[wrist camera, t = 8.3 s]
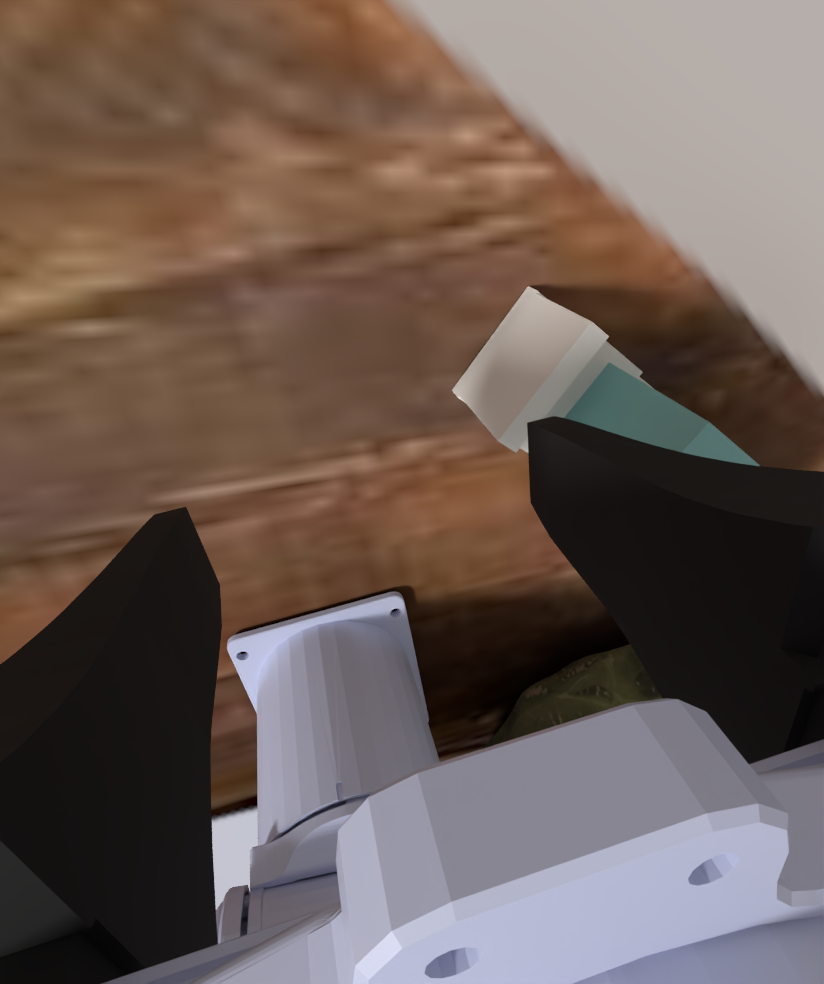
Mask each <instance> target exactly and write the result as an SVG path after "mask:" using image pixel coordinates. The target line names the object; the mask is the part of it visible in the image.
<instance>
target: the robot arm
mask: <svg viewBox="0 0 824 984" xmlns="http://www.w3.org/2000/svg"><path fill="white" fill-rule="evenodd" d="M527 431H528V453H529V475H530V497H531V504H532V506H533V507H534V509H535V511H536V513H537V515H538V517H539V518H540V520H541V522H542V524H543V525H544V527H545V529H546V531H547V532H548V534H549V536H550V537H551V539H552V540H553V541H554V543H555V544H556V545H557V546H558V548H559V549H560V550H561V552H562V553H563V554H564V555H565V557H566V558H567V559H568V561H569V562H570V563H571V564H572V566H573V567H574V568H575V570H576V571H577V572H578V573H579V575H580V576H581V577H582V578H583V580H584V581H585V582H586V583H587V585H588V586H589V587H590V588H591V590H592V591H593V592H594V593H595V595H596V596H597V597H598V599H599V600H600V601H601V602H602V604H603V605H604V606H605V607H606V609H607V610H608V611H609V613H610V614H611V616H612V617H613V618H614V620H615V621H616V623H617V624H618V625H619V627H620V629H621V630H622V632H623V633H624V635H625V637H626V638H627V640H628V642H629V643H630V645H631V646H632V648H633V650H634V651H635V653H636V654H637V656H638V658H639V659H640V661H641V663H642V664H643V666H644V668H645V669H646V671H647V673H648V675H649V676H650V678H651V680H652V681H653V683H654V685H655V687H656V688H657V690H658V692H659V693H660V695H661V697H662V699H657V700H649V701H642V702H634V703H627V704H623V705H620V706H617V707H614V708H611V709H608V710H604V711H601V712H598V713H595V714H592V715H589V716H585V717H582V718H579V719H576V720H573V721H569V722H566V723H563V724H560V725H557V726H554V727H550V728H547V729H544V730H541V731H538V732H535V733H531V734H528V735H525V736H522V737H519V738H516V739H512V740H509V741H506V742H503V743H500V744H497V745H493V746H490V747H487V748H484V749H481V750H478V751H474V752H471V753H468V754H465V755H462V756H459V757H455V758H452V759H449V760H446V761H443V762H440V761H439V758H438V755H437V751H436V748H435V745H434V741H433V738H432V735H431V732H430V728H429V725H428V721H429V716H428V712H427V707H426V702H425V697H424V693H423V688H422V683H421V678H420V673H419V669H418V664H417V659H416V654H415V650H414V645H413V640H412V635H411V631H410V626H409V621H408V616H407V612H406V607H405V602H404V599H403V596H402V594H400V593H399V592H395V591H394V592H388V593H385V594H381V595H377V596H374V597H370V598H367V599H363V600H359V601H356V602H352V603H348V604H345V605H341V606H338V607H334V608H330V609H327V610H323V611H319V612H316V613H312V614H309V615H305V616H301V617H298V618H294V619H290V620H287V621H283V622H280V623H276V624H272V625H269V626H265V627H261V628H258V629H254V630H251V631H247V632H243V633H240V634H236V635H234V636H232V637H230V638H229V640H228V642H227V649H228V652H229V654H230V657H231V659H232V661H233V663H234V665H235V667H236V670H237V672H238V674H239V676H240V678H241V680H242V683H243V685H244V687H245V689H246V691H247V693H248V696H249V698H250V700H251V702H252V704H253V707H254V709H255V711H256V713H257V781H258V846H256V847H253V848H252V849H251V850H250V891H249V888H248V885H245V886H238V887H232V888H230V889H229V891H228V892H227V893H226V895H225V898H224V901H223V902H222V903H221V904H220V906H219V907H218V909H217V910H216V909H215V890H214V872H213V871H214V870H213V853H212V852H213V851H212V821H211V771H210V743H211V725H212V715H213V706H214V697H215V687H216V678H217V669H218V660H219V650H220V639H221V628H222V622H221V599H220V584H219V582H218V580H217V577H216V575H215V573H214V570H213V568H212V566H211V563H210V561H209V559H208V556H207V554H206V552H205V550H204V547H203V545H202V543H201V540H200V538H199V536H198V533H197V531H196V529H195V527H194V524H193V522H192V520H191V517H190V515H189V513H188V510H187V508H186V507H183V508H179V509H175V510H171V511H167V512H163V513H159V514H155V515H154V516H153V517H152V518H151V519H149V520H148V521H147V522H146V523H145V525H144V526H143V527H142V528H141V529H140V530H139V531H138V532H137V533H136V534H135V535H134V537H133V538H132V539H131V540H130V541H129V542H128V543H127V544H126V546H125V547H124V548H123V549H122V550H121V551H120V552H119V553H118V554H117V556H116V557H115V558H114V559H113V560H112V561H111V562H110V563H109V564H108V565H107V567H106V568H105V569H104V570H103V571H102V572H101V573H100V574H99V575H98V576H97V577H96V578H95V579H94V580H93V581H92V582H91V583H90V584H89V586H88V587H87V588H86V589H85V590H84V591H83V592H82V593H81V594H80V595H79V596H78V597H77V598H76V599H75V600H74V601H73V602H72V603H71V604H70V605H69V606H68V607H67V608H66V609H65V610H64V611H63V612H62V613H61V614H60V615H58V616H57V617H56V618H55V619H54V620H53V621H52V622H51V623H50V624H49V625H48V626H46V627H45V628H44V629H43V630H42V631H41V632H40V633H38V634H37V635H36V636H35V637H34V638H33V639H31V640H30V641H29V642H28V643H27V644H25V645H24V646H23V647H22V648H21V649H19V650H18V651H17V652H16V653H15V654H13V655H12V656H11V657H10V658H8V659H7V660H6V661H4V662H3V663H2V664H0V984H824V472H818V471H803V470H791V469H782V468H772V467H763V466H754V465H747V464H740V463H734V462H728V461H722V460H717V459H711V458H706V457H700V456H696V455H691V454H687V453H682V452H678V451H675V450H671V449H667V448H663V447H659V446H655V445H652V444H648V443H645V442H641V441H638V440H634V439H631V438H628V437H624V436H621V435H618V434H615V433H612V432H609V431H605V430H602V429H599V428H596V427H593V426H590V425H587V424H583V423H580V422H577V421H573V420H570V419H566V418H562V417H557V416H552V417H548V418H544V419H540V420H536V421H532V422H528V423H527ZM393 609H398V610H397V611H395V612H391V611H392V610H393ZM239 652H247V653H245V654H240V653H239Z"/></svg>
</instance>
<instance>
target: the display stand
mask: <svg viewBox="0 0 824 984" xmlns="http://www.w3.org/2000/svg"><path fill="white" fill-rule="evenodd" d="M608 337H609V336H608V335H607V334H606V333H605V332H603V331H602V330H601V329H600V328H599V327H598V326H596V325H595V324H594V323H593V322H592V321H590V320H588V319H586V318H584V317H582V316H580V315H578V314H576V313H574V312H572V311H570V310H568V309H566V308H564V307H562V306H560V305H558V304H556V303H554V302H552V301H550V300H548V299H547V298H546V297H544V296H543V295H542V294H541V293H540V292H538V291H537V290H535V289H533V288H531V287H529V286H528V287H527V288H526V290H525V291H524V292H523V294H522V295H521V297H520V298H519V299H518V301H517V302H516V303H515V305H514V306H513V307H512V309H511V310H510V312H509V313H508V314H507V316H506V317H505V318H504V320H503V321H502V322H501V324H500V325H499V327H498V328H497V329H496V331H495V332H494V333H493V335H492V336H491V337H490V339H489V340H488V342H487V343H486V344H485V346H484V347H483V348H482V350H481V351H480V353H479V354H478V355H477V357H476V358H475V359H474V361H473V362H472V363H471V365H470V366H469V368H468V369H467V370H466V372H465V373H464V374H463V376H462V377H461V378H460V380H459V381H458V383H457V384H456V385H455V387H454V388H453V389H452V391H453V392H454V394H455V395H456V396H457V397H458V398H459V399H461V400H462V401H464V402H465V403H466V404H467V405H468V406H469V407H470V409H471V410H472V411H473V412H474V413H475V415H476V416H477V417H478V418H479V419H480V420H481V422H482V423H483V424H484V425H485V426H486V428H487V429H488V430H489V431H490V432H491V434H492V435H493V436H494V437H495V438H496V439H497V441H498V442H500V443H502V444H503V445H505V446H506V447H508V448H509V449H511V450H513V451H514V452H517V451H518V449H519V448H521V449H523V450H524V451H526V452H527V453H528V431H527V423H528V422H532V421H536V420H540V419H544V418H548V417H552V416H557V417H562V418H564V417H565V416H566V415H567V413H568V412H569V411H570V410H571V409H572V407H573V406H574V405H575V404H576V402H577V401H578V400H579V399H580V398H581V396H582V395H583V394H584V393H585V391H586V390H587V389H588V388H589V387H590V385H591V384H592V383H593V382H594V380H595V379H596V378H597V377H598V375H599V374H600V373H601V372H602V371H603V369H604V368H605V367H606V366H607V364H608V363H609V362H610V363H611V364H613V365H615V366H616V367H618V368H620V369H621V370H623V371H625V372H626V373H628V374H630V375H631V376H633V377H635V378H636V379H638V380H640V381H641V382H643V383H645V384H646V385H648V386H650V385H649V384H648V383H646V382H645V381H644V380H643V379H642V378H641V377H639V376H640V375H641V374H642V373H643V372H642V371H641V370H640V369H639V368H637V367H636V366H635V365H634V364H633V363H631V362H630V361H629V360H628V359H627V358H626V357H624V356H623V355H622V354H621V353H620V352H619V351H617V350H616V349H615V348H614V347H613V346H612V345H610V344H609V343H608V342H607V341H606V340H607V339H608ZM650 387H651V386H650ZM653 389H654V388H653Z"/></svg>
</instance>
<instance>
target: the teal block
mask: <svg viewBox="0 0 824 984" xmlns="http://www.w3.org/2000/svg"><path fill="white" fill-rule="evenodd" d="M564 418H566V419H570V420H573V421H577V422H580V423H583V424H587V425H590V426H593V427H596V428H599V429H602V430H605V431H609V432H612V433H615V434H618V435H621V436H624V437H628V438H631V439H634V440H638V441H641V442H645V443H648V444H652V445H655V446H659V447H663V448H667V449H671V450H675V451H678V452H682V453H687V454H691V455H696V456H700V457H706V458H711V459H717V460H722V461H728V462H734V463H740V464H747V465H754V466H760V465H759V464H758V463H756V462H755V461H754V460H753V459H752V458H751V457H749V456H748V455H747V454H746V453H745V452H744V451H742V450H741V449H740V448H739V447H738V446H737V445H736V444H734V443H733V442H732V441H731V440H730V439H729V438H727V437H726V436H725V435H724V434H723V433H722V432H720V431H719V430H718V429H717V428H716V427H715V426H714V425H712V424H711V423H710V422H709V421H707V420H705V419H704V418H702V417H700V416H699V415H697V414H695V413H694V412H692V411H690V410H688V409H687V408H685V407H683V406H682V405H680V404H678V403H677V402H675V401H673V400H672V399H670V398H668V397H667V396H665V395H663V394H662V393H660V392H658V391H657V390H655V389H653V388H652V387H650V386H648V385H646V384H645V383H643V382H641V381H640V380H638V379H636V378H635V377H633V376H631V375H630V374H628V373H626V372H625V371H623V370H621V369H620V368H618V367H616V366H615V365H613V364H611V363H610V362H609V363H608V364H607V366H606V367H605V368H604V369H603V371H602V372H601V373H600V374H599V375H598V377H597V378H596V379H595V380H594V382H593V383H592V384H591V385H590V387H589V388H588V389H587V390H586V391H585V393H584V394H583V395H582V396H581V398H580V399H579V400H578V401H577V402H576V404H575V405H574V406H573V407H572V409H571V410H570V411H569V412H568V413H567V415H566V416H565V417H564Z"/></svg>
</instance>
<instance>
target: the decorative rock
mask: <svg viewBox="0 0 824 984" xmlns="http://www.w3.org/2000/svg"><path fill="white" fill-rule="evenodd" d="M657 699H662V697H661V695H660V693H659V692H658V690H657V688H656V687H655V685H654V683H653V681H652V680H651V678H650V676H649V675H648V673H647V671H646V669H645V668H644V666H643V664H642V663H641V661H640V659H639V658H638V656H637V654H636V653H635V651H634V650H633V648H632V646H631V645H627V646H623V647H620V648H617V649H613V650H610V651H607V652H602V653H597V654H593V655H589V656H586V657H584V658H581V659H579V660H576V661H574V662H572V663H570V664H569V665H567V666H566V667H564V668H563V669H561V670H560V671H558V672H557V673H555V674H553V675H551V676H549V677H547V678H544V679H542V680H540V681H539V682H537V683H535V684H533V685H531V686H530V687H529V688H528V689H526V690H525V691H524V692H523V693H522V694H521V695H520V697H519V698H518V700H517V702H516V705H515V706H514V708H513V710H512V711H511V713H510V715H509V716H508V718H507V720H506V721H505V722H504V724H503V725H502V726H501V728H500V729H499V730H498V732H497V733H496V734H495V735H494V736H493V737H492V738H491V739H490V740H489V741H488V742H487V744H486V745H485V746H484V747H483V749H484V748H487V747H490V746H493V745H497V744H500V743H503V742H506V741H509V740H512V739H516V738H519V737H522V736H525V735H528V734H531V733H535V732H538V731H541V730H544V729H547V728H550V727H554V726H557V725H560V724H563V723H566V722H569V721H573V720H576V719H579V718H582V717H585V716H589V715H592V714H595V713H598V712H601V711H604V710H608V709H611V708H614V707H617V706H620V705H623V704H627V703H634V702H642V701H649V700H657Z"/></svg>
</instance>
